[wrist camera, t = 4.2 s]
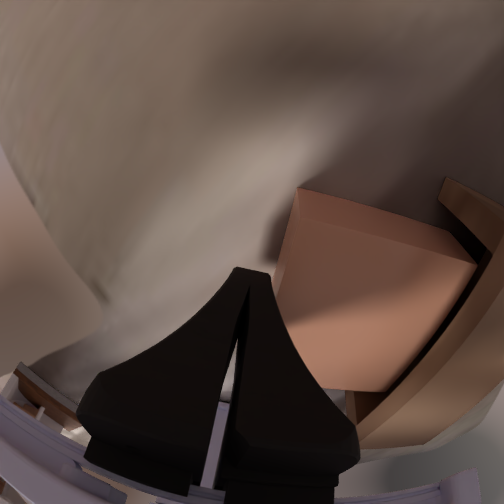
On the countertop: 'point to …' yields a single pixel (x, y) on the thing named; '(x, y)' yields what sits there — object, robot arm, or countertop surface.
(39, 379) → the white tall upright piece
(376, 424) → the tan wooden box
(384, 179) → the countertop surface
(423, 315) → the terracotta brick
